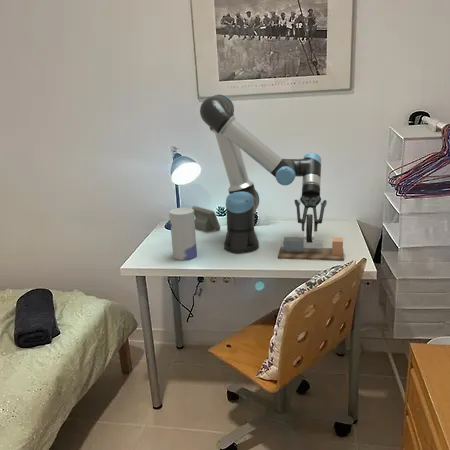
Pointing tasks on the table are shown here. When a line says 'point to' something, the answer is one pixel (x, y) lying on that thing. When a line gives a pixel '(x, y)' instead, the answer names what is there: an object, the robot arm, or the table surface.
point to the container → (183, 233)
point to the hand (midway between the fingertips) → (309, 238)
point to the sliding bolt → (309, 236)
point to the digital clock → (205, 219)
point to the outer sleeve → (293, 245)
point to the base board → (311, 254)
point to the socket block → (337, 246)
